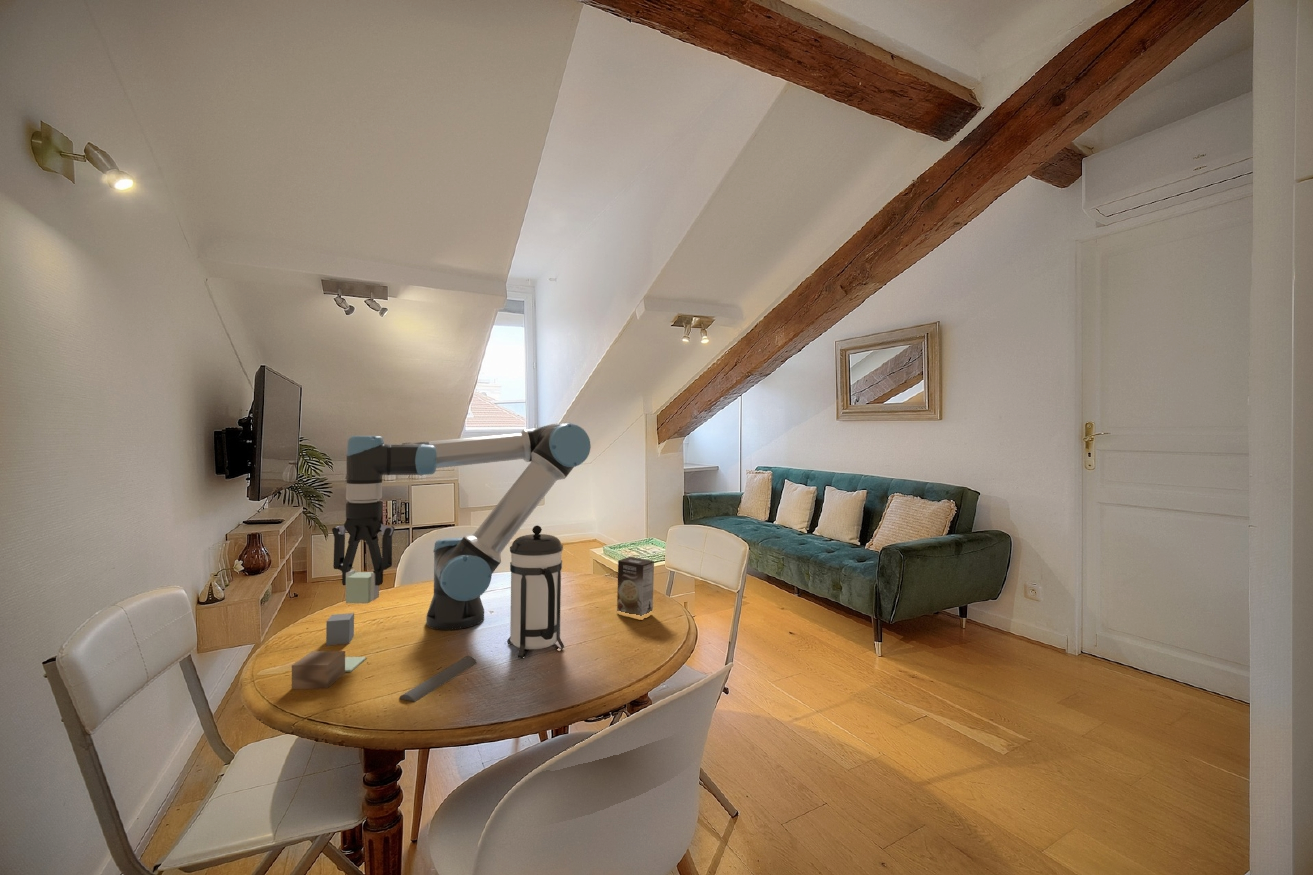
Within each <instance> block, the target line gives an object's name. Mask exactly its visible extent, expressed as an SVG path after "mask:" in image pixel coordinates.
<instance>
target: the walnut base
mask: <svg viewBox="0 0 1313 875" xmlns="http://www.w3.org/2000/svg"><path fill="white" fill-rule="evenodd" d="M345 657H346V650H344V651H343V650H331V651H330V650H328V651H325V650H324V651H323V650H321V651H319V650H317V651H316V650H314V651H313V650H312V651H310V652H309V653H308V654H306V655H305V656H303V657H301V658H300V659H299V660H297V661H296V662H295V663H293V664H291V690H310V689H311V690H312V689H313V690H316V689H317V690H319V689H321V690H323V689H324V690H325V689H329V688H330V687H331V686H332V685H333V684H334V683H335V682H337V681H338V680H339V679H340V678H341V677H343V675H346V672H345Z"/></svg>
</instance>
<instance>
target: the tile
mask: <svg viewBox="0 0 1313 875" xmlns="http://www.w3.org/2000/svg"><path fill="white" fill-rule="evenodd" d="M365 660H367V656H345V673H352V672H353V671H354V670H355V669H356V668H357V667H359V666H360V665H361V664H362V663H363V662H364V661H365Z"/></svg>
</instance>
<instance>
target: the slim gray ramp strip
mask: <svg viewBox="0 0 1313 875" xmlns="http://www.w3.org/2000/svg"><path fill="white" fill-rule="evenodd" d="M476 664H477V660H476V658H474V657H473V656H471V655H467V656H465V657H463V658H461V659H460V660H457V662H454V663H453V664H451V665H450V666H448V667H446V668H445V669H443V670H441V671H440V672H438V673H437V674H434V675H433V676H431V677H430V678H428V679H427V680H425V681H424V682H422V683H420V684H418V685H416V686H415V687H413V688H411V689H409V690H408V691H406V692H404V693H402V694H401V695H400V696H399V699H400V700H405V701H409V702H413V703H415V702H417V701H419V700H421V699H422V698H424V697H425V696H427V695H429V694H430V693H432V692H433V691H435V690H436V689H439V687H441V686H443V685H444V684H446V683H447V682H449V681H452V679H454V678H456V677H457V676H458V675H460V674H462V673H464V672H465V671H466V670H468V669H470V668H471V667H473V666H474V665H476Z"/></svg>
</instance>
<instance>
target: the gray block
mask: <svg viewBox="0 0 1313 875" xmlns="http://www.w3.org/2000/svg"><path fill="white" fill-rule="evenodd" d="M325 625H326V634H325V637H326V639H325V640H326V641H325V645H326V646H337V644H339V645H347V644H350V643H351V642H350V641H352V640H353V639H354V637H355V612H351V613H337V614H335V613H334V614H331V615H330V616H329V618H328V619H327V620H326V624H325Z"/></svg>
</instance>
